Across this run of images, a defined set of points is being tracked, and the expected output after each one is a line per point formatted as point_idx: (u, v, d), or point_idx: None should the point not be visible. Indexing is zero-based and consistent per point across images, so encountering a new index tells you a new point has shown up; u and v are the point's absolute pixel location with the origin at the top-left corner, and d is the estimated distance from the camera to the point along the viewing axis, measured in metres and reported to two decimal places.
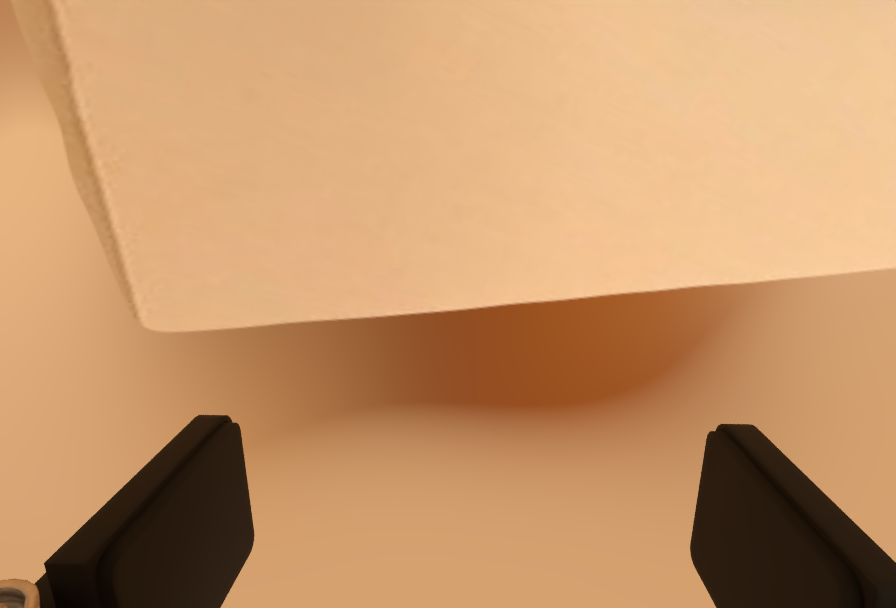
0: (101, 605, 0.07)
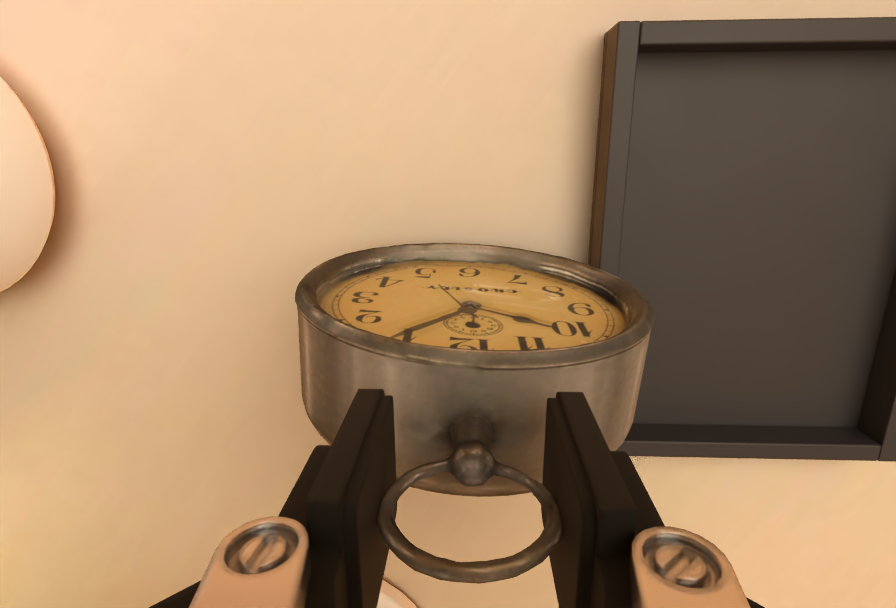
0: (343, 541, 0.08)
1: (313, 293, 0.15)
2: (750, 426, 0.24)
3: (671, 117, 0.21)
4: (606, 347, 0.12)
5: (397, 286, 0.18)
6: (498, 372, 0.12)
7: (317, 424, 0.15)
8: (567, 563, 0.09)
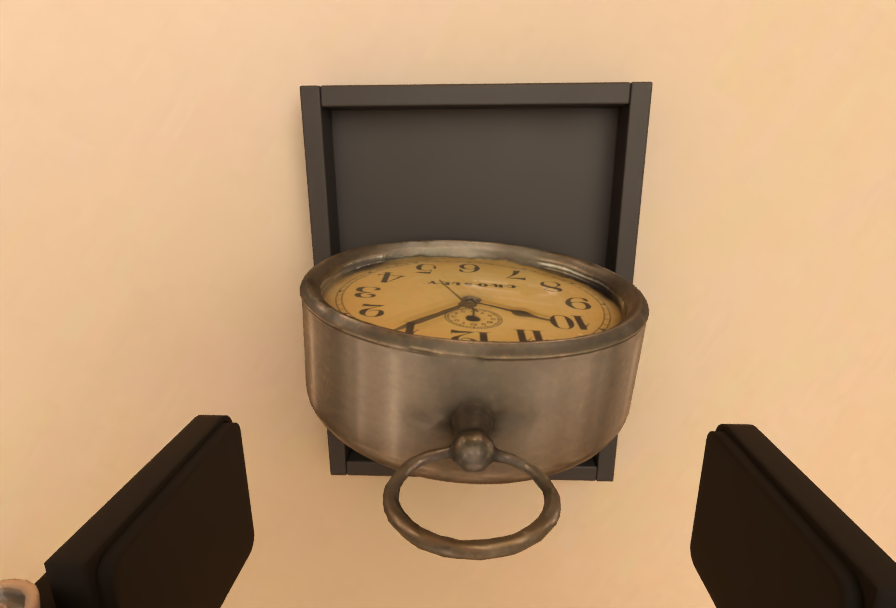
0: (101, 605, 0.07)
1: (317, 287, 0.16)
2: None
3: (380, 167, 0.23)
4: (602, 339, 0.13)
5: (398, 281, 0.19)
6: (498, 363, 0.12)
7: (322, 415, 0.15)
8: None
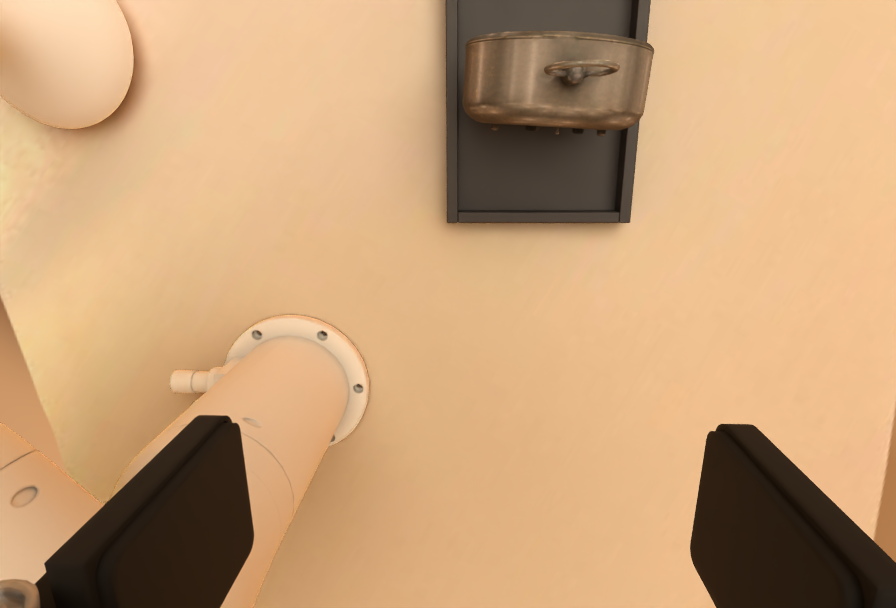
0: (101, 605, 0.07)
1: None
2: (550, 210, 0.40)
3: (486, 13, 0.36)
4: (632, 40, 0.27)
5: None
6: (585, 41, 0.26)
7: (484, 100, 0.29)
8: None
